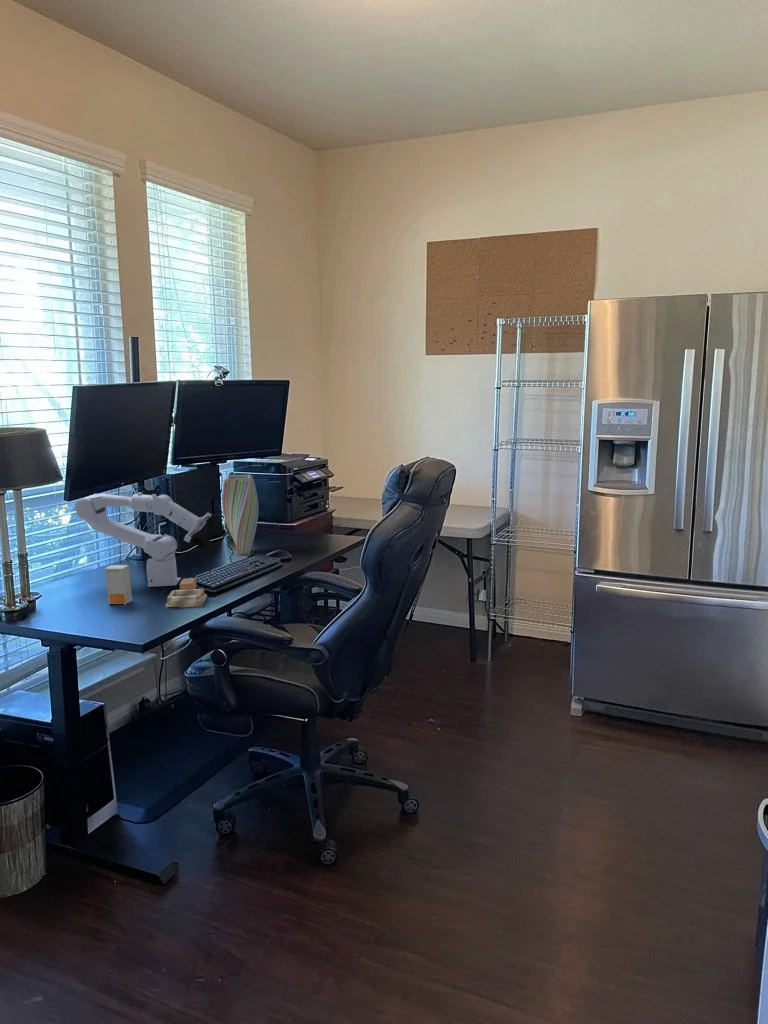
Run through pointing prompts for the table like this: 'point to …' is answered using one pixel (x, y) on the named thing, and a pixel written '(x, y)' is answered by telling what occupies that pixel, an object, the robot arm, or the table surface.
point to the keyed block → (188, 584)
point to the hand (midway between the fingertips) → (219, 540)
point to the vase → (240, 510)
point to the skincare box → (118, 584)
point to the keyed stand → (186, 598)
